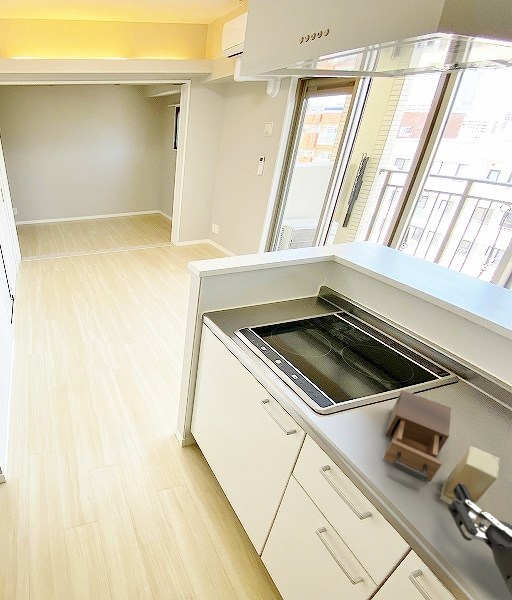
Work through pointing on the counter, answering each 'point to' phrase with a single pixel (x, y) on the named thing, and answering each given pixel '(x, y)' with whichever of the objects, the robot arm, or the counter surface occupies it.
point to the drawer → (414, 450)
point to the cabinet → (420, 415)
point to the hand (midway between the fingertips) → (489, 494)
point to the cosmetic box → (472, 474)
